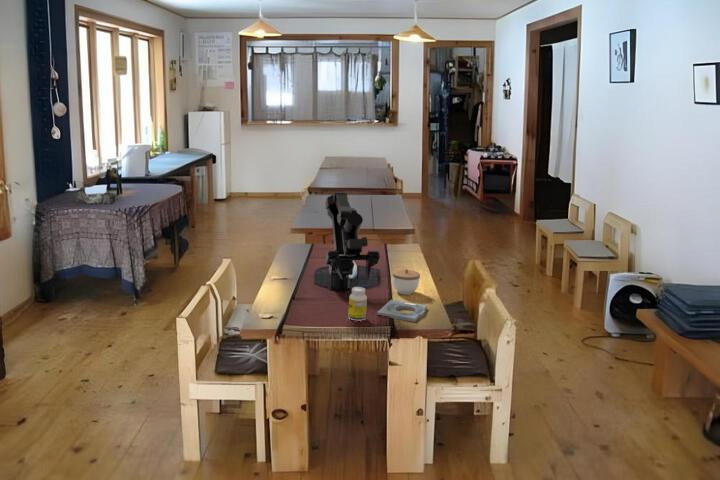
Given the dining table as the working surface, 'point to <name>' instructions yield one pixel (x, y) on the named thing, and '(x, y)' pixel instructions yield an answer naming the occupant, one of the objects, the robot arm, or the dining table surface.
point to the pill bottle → (357, 304)
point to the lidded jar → (405, 281)
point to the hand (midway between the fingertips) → (355, 278)
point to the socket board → (392, 312)
